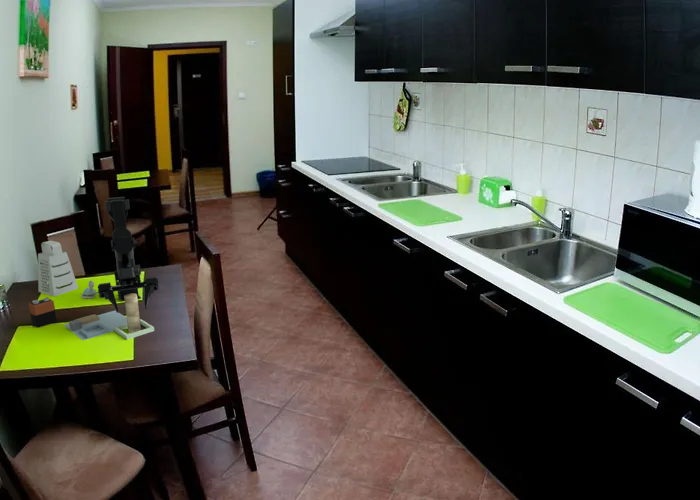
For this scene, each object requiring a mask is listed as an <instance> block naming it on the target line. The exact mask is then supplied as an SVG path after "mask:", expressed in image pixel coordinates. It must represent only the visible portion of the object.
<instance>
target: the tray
mask: <svg viewBox="0 0 700 500" xmlns="http://www.w3.org/2000/svg"><path fill="white" fill-rule="evenodd" d="M140 326H143V327H145V328H144V329H141V330H140V331H137V332H134V333H126V332H125V331H124V329H128V326H127V324H124V325H120V326H117V327H114V329H115V331H114V332H116V333H117V334H118V335H120V336H121V337H123V338H124V339H126V340H130V339H134V338H137V337H140V336H142V335H147V334H148V333H152V332H155V327H154V326H153V325H152V324H149V323H148V322H147V321H145V320H143V319H141V318H140Z"/></svg>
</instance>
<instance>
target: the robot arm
mask: <svg viewBox="0 0 700 500" xmlns="http://www.w3.org/2000/svg"><path fill="white" fill-rule="evenodd" d="M107 200H108V201H104V205H105V207H104V208H105V211H106V212H107V214H108V216H109V217H110V218H111V220H112V221H113V223H114V230H113V231H112V233H111V236H112V239H111V240H110V245H111V252H114V254H115V255H114V256H115V260H116V261H115V262H116V265H115V271H114V280H115V281H114V282H115V285H111V281H110V282H104V283H99V284H98V285H97V292H99V293H98V296H99V298H100V299H104V300H108V301H109V302H110V303H111V304H112V306H113V308H114V311H115V310H116V312H117V313H118V312H119V306H118V304H117V301H116V296H115V292H117V296H118V297H117V298H118V300H120V301H121V302H125V300H124V296H125V295H126V294H132V293H134V294H137V299H138V300H139V299H141V298H142V297H141V296H140V294H139V289H142V288H143V289H144V309H147V307H148V304H149V299H150V297H151V294H153V293H155V291H158V290H159V279H158V278H159V277H157V276H149V277H145V278H144V279H145V280H144V281H141V275H142V270H141V265H140V264H135V257H134V254H135V251H134V249H136V248H137V247H138V243H137V240H136V239H135V237H132V232H131V231H130V230H129V229H128V227H127V222H126V221H127V220H126V218H127V216H128V215H129V210H130V209H131V208H130V199H126V197H125V196H119V197H110V198H109V197H108V198H107Z"/></svg>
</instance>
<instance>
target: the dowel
mask: <svg viewBox="0 0 700 500" xmlns="http://www.w3.org/2000/svg"><path fill="white" fill-rule="evenodd" d="M124 300H125V301H124V306H125V308H124V309H125V317H126V318H127V326H128V328H127V332H128V333H127V334H131V333H134V332H137V331H140V330H142V329H141V324H140V319H141V318H140V310H139V299H137V294H134V293H132V294H126V295H125V296H124Z"/></svg>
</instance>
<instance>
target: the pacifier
mask: <svg viewBox="0 0 700 500" xmlns="http://www.w3.org/2000/svg"><path fill="white" fill-rule="evenodd" d="M94 282H95V281H94V280H89V281H88V287H86V288H85V289H84V290H83V291H82V292H83V293H82V294H81V295H80V297H81V298H82V299H84V300H85V299H87V300H88V299H92V298H93V299H94V297H96V295H97V294H99V292H98V291H96V289H94V288H95V283H94Z"/></svg>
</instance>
